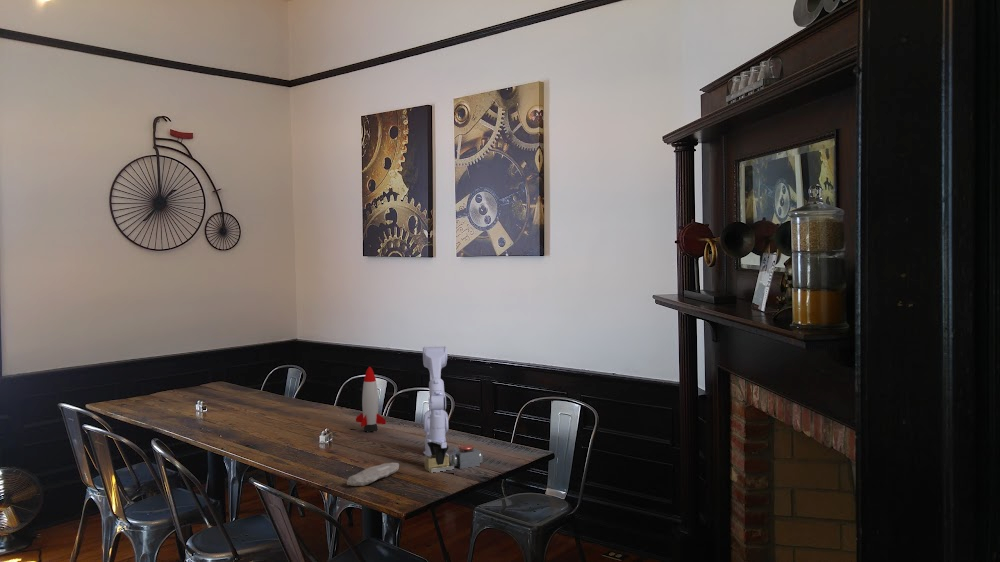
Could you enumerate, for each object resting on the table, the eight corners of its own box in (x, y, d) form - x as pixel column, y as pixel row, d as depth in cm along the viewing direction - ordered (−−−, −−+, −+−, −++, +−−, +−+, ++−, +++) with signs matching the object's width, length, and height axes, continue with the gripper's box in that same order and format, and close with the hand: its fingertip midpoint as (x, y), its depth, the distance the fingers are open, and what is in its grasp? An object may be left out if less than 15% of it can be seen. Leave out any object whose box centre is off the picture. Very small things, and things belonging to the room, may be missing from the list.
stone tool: (338, 473, 244) (387, 455, 265) (338, 487, 244) (388, 468, 265) (361, 478, 238) (410, 459, 258) (362, 492, 238) (410, 472, 258)
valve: (424, 467, 265) (424, 448, 265) (476, 460, 274) (476, 441, 273) (431, 473, 257) (431, 453, 257) (484, 465, 266) (484, 446, 266)
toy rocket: (354, 430, 326) (361, 366, 331) (378, 432, 330) (384, 368, 336) (360, 432, 315) (367, 366, 321) (384, 433, 320) (390, 368, 325)
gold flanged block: (424, 468, 263) (424, 455, 263) (444, 466, 266) (444, 453, 266) (429, 472, 259) (428, 459, 258) (449, 469, 262) (449, 456, 262)
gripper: (421, 424, 267) (422, 459, 268) (433, 432, 254) (434, 469, 254) (438, 422, 270) (439, 456, 270) (451, 430, 257) (452, 466, 257)
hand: (438, 462), depth 263 cm, fingers closed on gold flanged block, 4 cm apart
